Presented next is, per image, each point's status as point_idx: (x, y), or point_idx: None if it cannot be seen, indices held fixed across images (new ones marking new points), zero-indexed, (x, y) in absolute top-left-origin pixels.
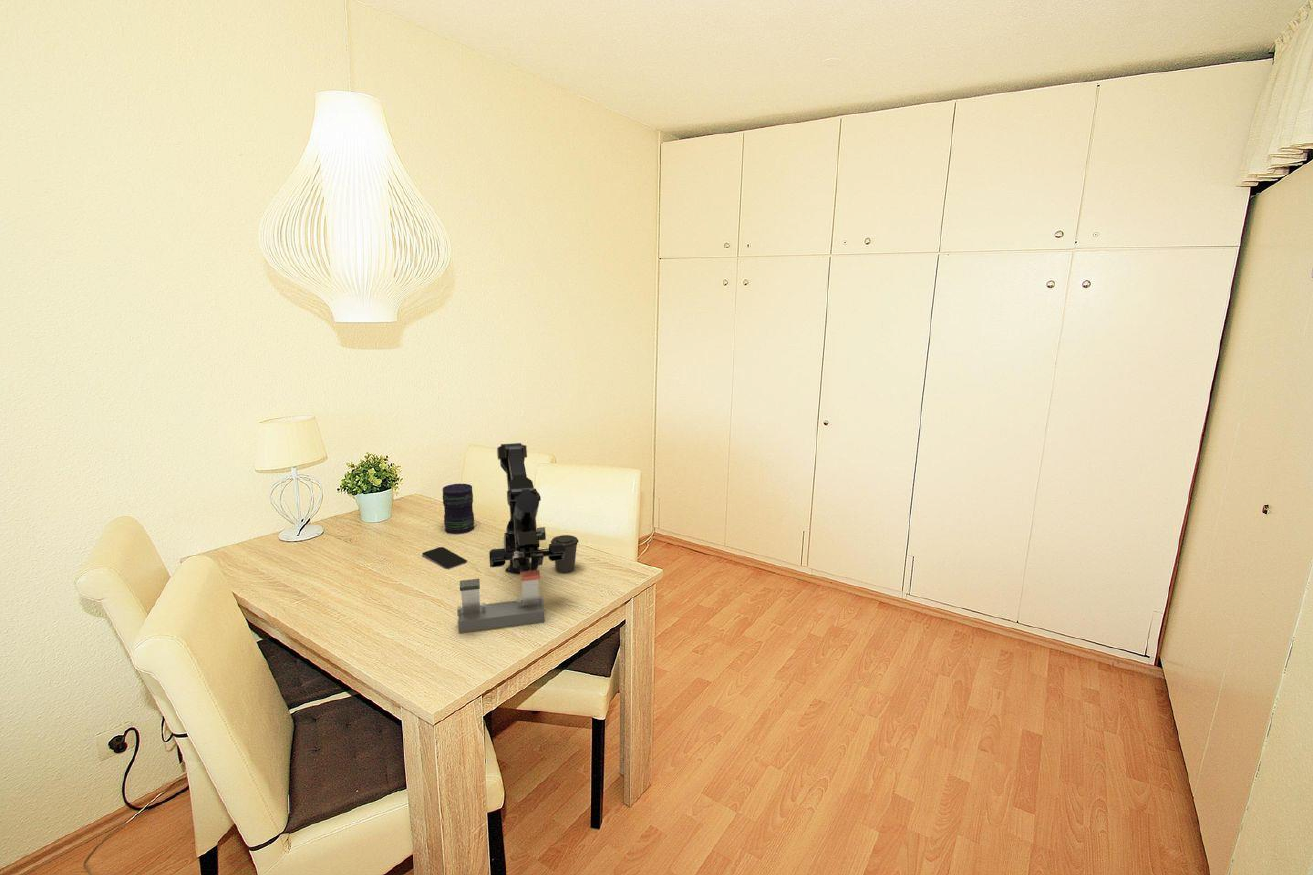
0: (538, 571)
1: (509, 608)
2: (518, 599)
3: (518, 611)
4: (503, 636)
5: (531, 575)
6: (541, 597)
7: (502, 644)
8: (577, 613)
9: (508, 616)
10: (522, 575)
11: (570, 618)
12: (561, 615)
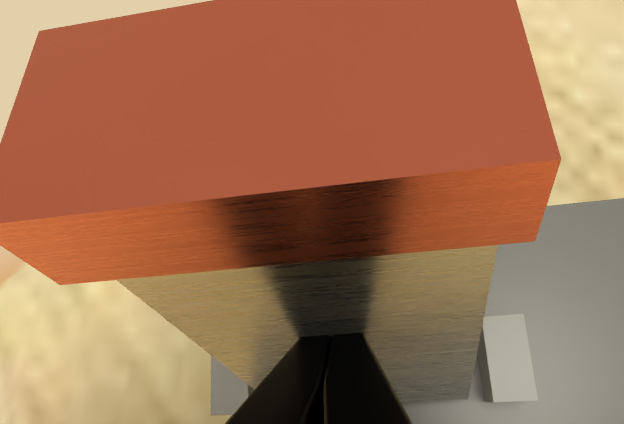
0: (13, 154)
1: (607, 351)
2: (516, 384)
3: (495, 268)
4: (589, 106)
5: (227, 18)
6: (232, 377)
7: (579, 12)
8: (22, 351)
9: (592, 206)
10: (471, 4)
11: (85, 285)
12: (138, 344)
